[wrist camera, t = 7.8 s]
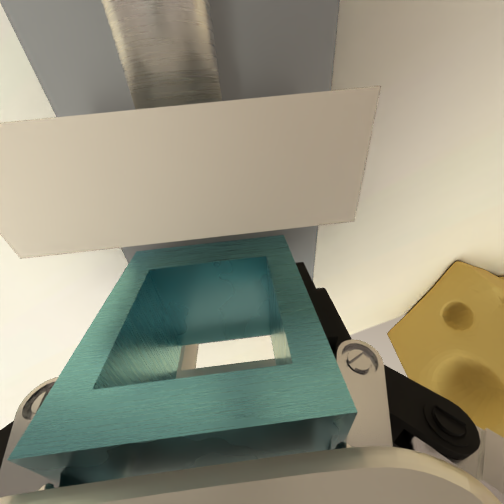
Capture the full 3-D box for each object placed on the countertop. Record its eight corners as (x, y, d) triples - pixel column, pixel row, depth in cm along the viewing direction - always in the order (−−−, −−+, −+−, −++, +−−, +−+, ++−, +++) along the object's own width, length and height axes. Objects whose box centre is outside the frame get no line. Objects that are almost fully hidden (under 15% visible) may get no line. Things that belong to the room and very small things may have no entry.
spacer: (136, 251, 10) (7, 459, 4) (283, 234, 10) (357, 412, 4) (168, 324, 13) (118, 509, 7) (283, 310, 13) (328, 479, 7)
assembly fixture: (16, -8, 8) (-688, -370, 2) (331, -35, 9) (625, -425, 2) (172, 335, 20) (146, 445, 14) (304, 319, 20) (338, 419, 14)
